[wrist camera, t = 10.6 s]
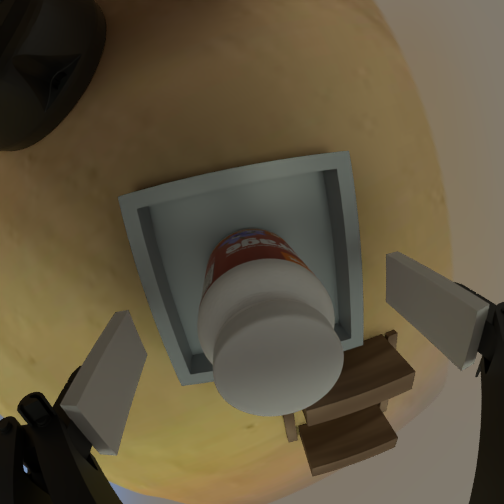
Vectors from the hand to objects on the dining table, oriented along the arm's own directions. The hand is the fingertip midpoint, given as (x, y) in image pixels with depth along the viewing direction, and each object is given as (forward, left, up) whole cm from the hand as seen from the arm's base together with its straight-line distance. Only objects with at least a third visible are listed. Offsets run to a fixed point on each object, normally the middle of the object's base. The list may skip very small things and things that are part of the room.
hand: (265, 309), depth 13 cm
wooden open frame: (+15, +6, -7) cm, 18 cm away
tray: (0, 0, -7) cm, 7 cm away
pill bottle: (0, 0, -7) cm, 7 cm away
